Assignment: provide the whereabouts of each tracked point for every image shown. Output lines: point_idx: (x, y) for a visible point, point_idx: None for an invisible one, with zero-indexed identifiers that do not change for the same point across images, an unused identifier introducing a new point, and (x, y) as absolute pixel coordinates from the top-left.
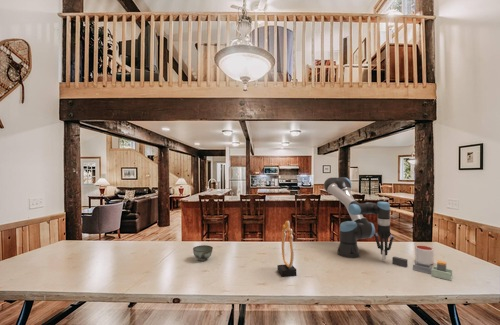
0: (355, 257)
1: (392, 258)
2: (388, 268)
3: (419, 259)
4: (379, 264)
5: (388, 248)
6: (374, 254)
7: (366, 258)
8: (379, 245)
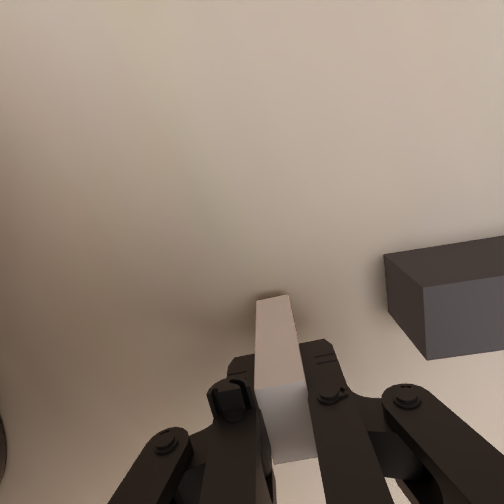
0: (3, 466)
1: (421, 352)
2: None
3: None
4: None
5: (427, 497)
6: (16, 136)
7: (83, 383)
8: (162, 492)
